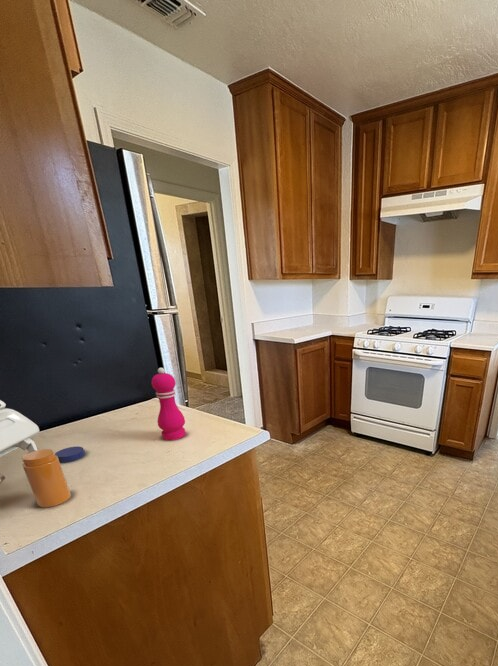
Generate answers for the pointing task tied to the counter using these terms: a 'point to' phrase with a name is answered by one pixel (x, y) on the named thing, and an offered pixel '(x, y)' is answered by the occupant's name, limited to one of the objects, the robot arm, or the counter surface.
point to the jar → (46, 478)
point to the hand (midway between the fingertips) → (21, 469)
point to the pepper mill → (168, 406)
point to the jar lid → (70, 454)
